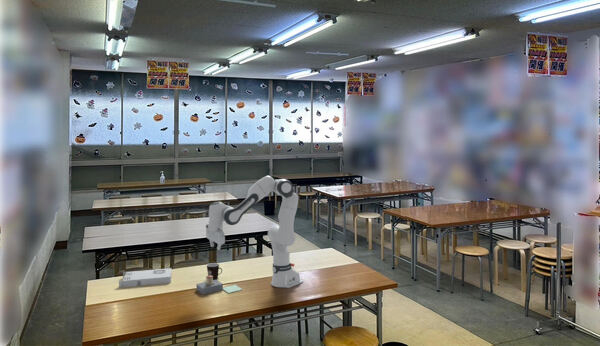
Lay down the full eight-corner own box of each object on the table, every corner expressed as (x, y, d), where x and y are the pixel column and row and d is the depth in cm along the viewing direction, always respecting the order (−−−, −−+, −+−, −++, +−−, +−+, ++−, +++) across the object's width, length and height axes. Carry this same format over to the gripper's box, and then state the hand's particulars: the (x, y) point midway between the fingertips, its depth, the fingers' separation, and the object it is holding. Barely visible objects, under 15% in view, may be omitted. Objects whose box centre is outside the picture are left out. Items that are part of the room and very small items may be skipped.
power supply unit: (123, 279, 293) (123, 272, 292) (171, 274, 301) (171, 268, 301) (119, 288, 274) (118, 281, 274) (170, 283, 283) (170, 276, 283)
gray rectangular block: (216, 285, 278) (216, 279, 278) (222, 289, 270) (222, 283, 270) (196, 289, 270) (196, 284, 270) (202, 294, 262) (202, 288, 262)
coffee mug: (204, 278, 292) (204, 264, 291) (216, 275, 297) (215, 262, 297) (211, 282, 283) (211, 268, 282) (223, 280, 288) (223, 266, 287)
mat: (235, 285, 278) (235, 284, 278) (242, 290, 270) (242, 289, 270) (221, 288, 272) (221, 288, 272) (228, 293, 264) (228, 292, 264)
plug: (211, 288, 273) (211, 275, 272) (214, 290, 270) (213, 276, 269) (205, 289, 271) (205, 276, 270) (208, 291, 267) (207, 278, 266)
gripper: (227, 229, 258) (227, 251, 259) (213, 223, 275) (213, 244, 276) (218, 230, 254) (218, 252, 255) (204, 224, 271) (204, 245, 272)
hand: (215, 248), depth 266 cm, fingers open, 8 cm apart
